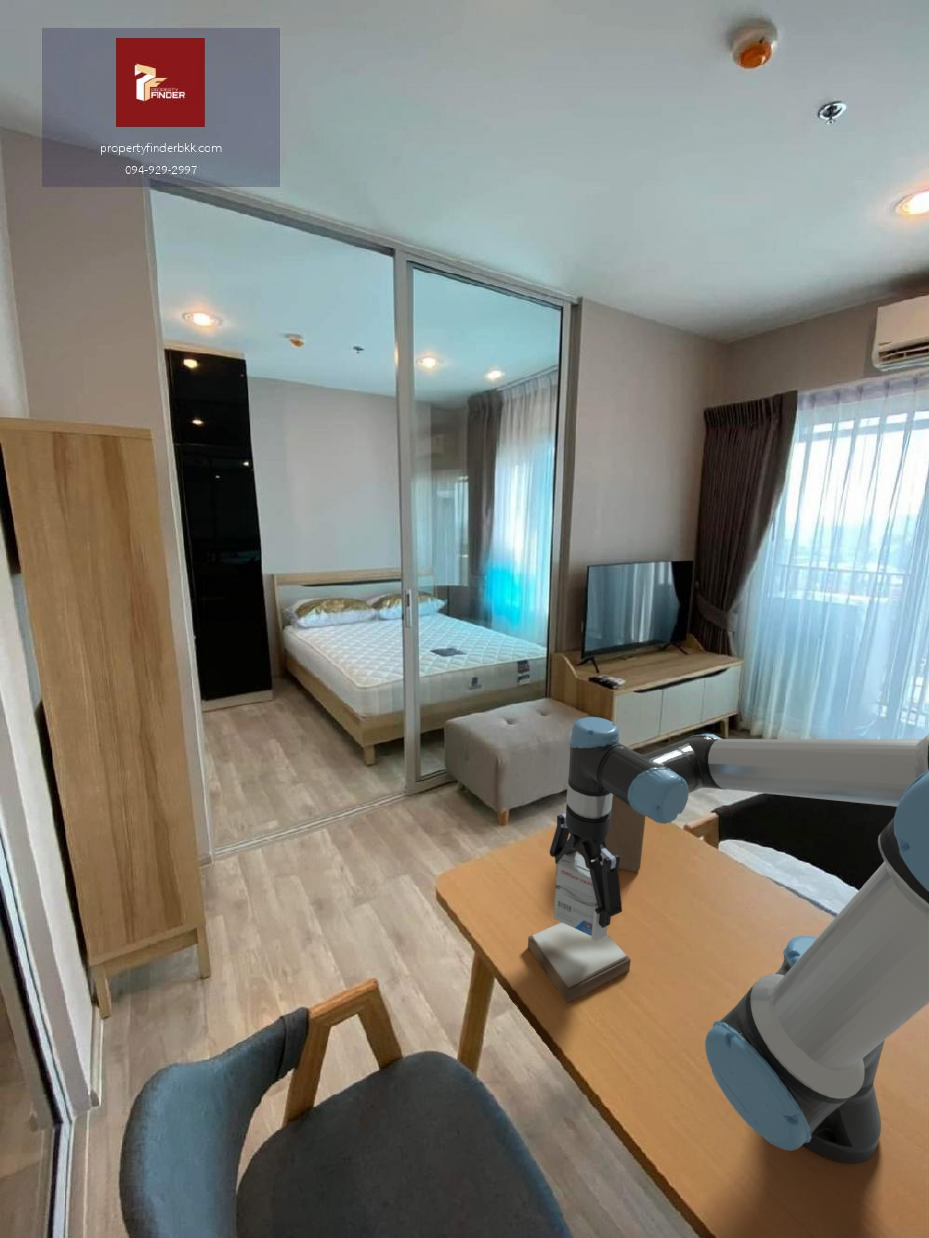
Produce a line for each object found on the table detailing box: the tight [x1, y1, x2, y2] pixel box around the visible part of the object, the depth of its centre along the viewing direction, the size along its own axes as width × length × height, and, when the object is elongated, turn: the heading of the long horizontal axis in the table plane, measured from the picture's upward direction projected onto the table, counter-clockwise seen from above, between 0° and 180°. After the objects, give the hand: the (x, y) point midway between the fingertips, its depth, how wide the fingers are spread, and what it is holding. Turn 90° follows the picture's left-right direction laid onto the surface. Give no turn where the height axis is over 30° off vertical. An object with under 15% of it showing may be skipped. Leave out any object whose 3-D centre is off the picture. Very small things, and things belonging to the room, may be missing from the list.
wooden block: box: [594, 795, 647, 873], centre depth 116 cm, size 10×10×20 cm
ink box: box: [553, 852, 597, 936], centre depth 89 cm, size 8×5×12 cm, turn 57°
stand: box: [527, 922, 632, 1004], centre depth 91 cm, size 12×14×3 cm
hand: (580, 915), depth 90 cm, fingers closed on ink box, 9 cm apart
